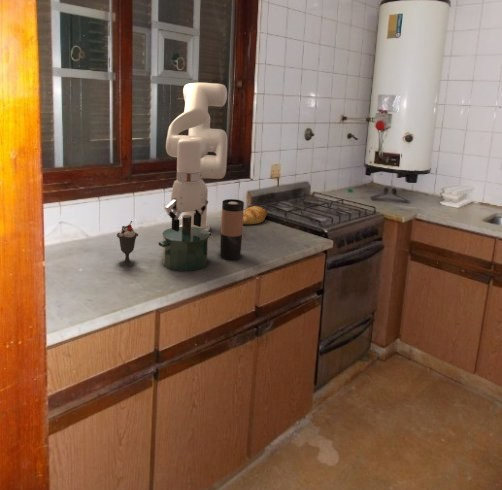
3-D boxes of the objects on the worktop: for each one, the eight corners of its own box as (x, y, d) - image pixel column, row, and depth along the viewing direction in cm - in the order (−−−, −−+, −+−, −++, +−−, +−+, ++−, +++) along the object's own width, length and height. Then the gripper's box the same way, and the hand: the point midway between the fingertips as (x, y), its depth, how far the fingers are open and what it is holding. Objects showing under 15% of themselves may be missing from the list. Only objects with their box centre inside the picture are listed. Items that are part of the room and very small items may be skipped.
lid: (153, 235, 146) (153, 214, 145) (190, 227, 157) (191, 207, 156) (180, 248, 135) (181, 226, 134) (219, 239, 146) (220, 218, 145)
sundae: (134, 268, 140) (135, 223, 138) (113, 267, 140) (114, 222, 138) (140, 260, 147) (140, 217, 144) (120, 259, 147) (120, 216, 144)
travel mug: (244, 254, 158) (247, 200, 154) (236, 261, 151) (239, 205, 147) (224, 250, 161) (227, 198, 157) (216, 257, 153) (218, 202, 150)
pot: (147, 262, 146) (148, 234, 144) (195, 249, 160) (196, 224, 158) (173, 276, 136) (174, 247, 134) (221, 262, 150) (223, 235, 148)
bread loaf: (247, 234, 191) (255, 221, 187) (230, 220, 194) (238, 206, 191) (269, 222, 209) (277, 210, 205) (253, 209, 212) (261, 197, 209)
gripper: (202, 172, 151) (200, 221, 154) (159, 177, 139) (157, 229, 142) (216, 176, 146) (213, 226, 149) (172, 181, 134) (171, 236, 137)
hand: (186, 227), depth 146 cm, fingers open, 8 cm apart
